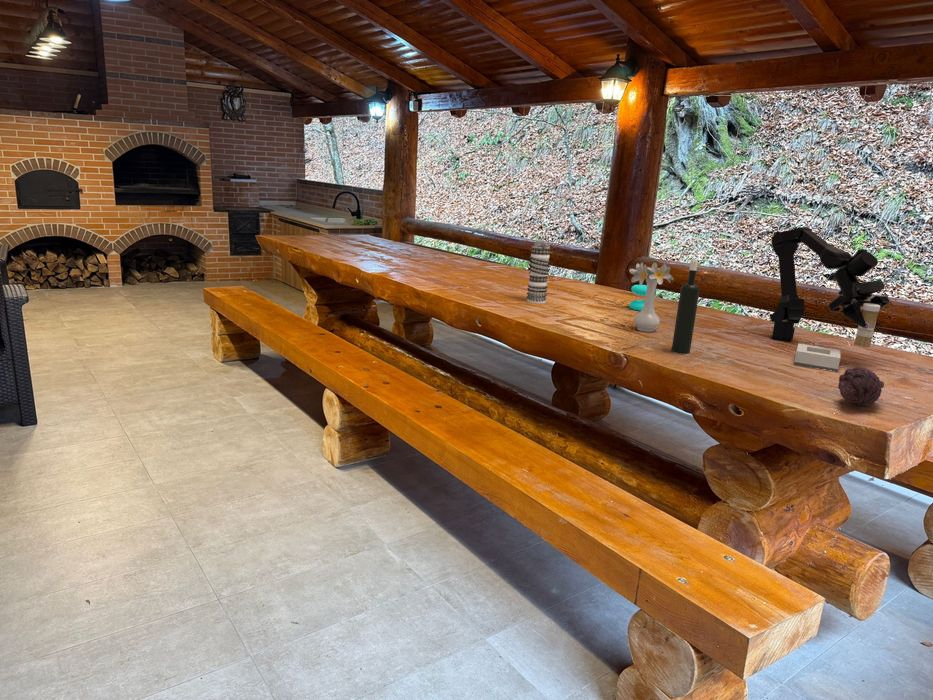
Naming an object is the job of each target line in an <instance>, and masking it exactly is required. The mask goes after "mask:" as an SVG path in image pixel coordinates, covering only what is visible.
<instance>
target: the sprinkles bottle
mask: <svg viewBox="0 0 933 700" xmlns="http://www.w3.org/2000/svg"><path fill="white" fill-rule="evenodd" d="M861 309H862V311H861V312H862V316H863V318H864V320H865V323H866V326H865V327H861V326H860V325H859V324H857V325H858V326H857V331H856V335H855V340H854V342H853V344H854V346H857V347H860V348H870V347H871V344H872V340H873V336H874V331H875V328H876V327H875V324H876V319H877V317H878V314H879V312H880V310H881V309H880V305H877V304H872V303H864V304H863V307H861Z"/></svg>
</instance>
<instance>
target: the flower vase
mask: <svg viewBox="0 0 933 700" xmlns="http://www.w3.org/2000/svg"><path fill="white" fill-rule="evenodd" d="M628 272H629V273H630V274H631V275H633V276H632V277H631V281H630V282H631V283H636V282H639V285H643V283H644V281H646V285H647V292H646V296H645V299H644V301H645V303H644V306H643V308H642V310H641V311H638V313H637V314H636V315H635V316H634V318H633V323H634V325H635V326H636V327H637V328H636V329H637V330H638V331H641V332H645V333H652V332H654V331H655V329H657V328H658V327H659V326H660V323H661V320H660V318H659V316H658V314H657V313H656V311H655V293H656V292H655V290H657V285H663V282H664V279H665V280H667V281H668V283H670V284H671V281H675V278H674V277H673V276H672V275H671V274H670V273H671V266H667V265H666V263H665V262H664V263H663V265H661V266H660V268H659V267H658V264H657V262H653V263H652V265H651V267H649V266H647V264H644V262H640V263H636V265H635V268H629V270H628Z"/></svg>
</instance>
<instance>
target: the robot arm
mask: <svg viewBox="0 0 933 700" xmlns="http://www.w3.org/2000/svg"><path fill="white" fill-rule="evenodd" d="M801 243H802V244H804V245H805V246H806V247H808V249H810V250H811V251H812V252H814V253H815V254H816V255H817V256H818V257H819V262H821V264H822V265H823V266H824V268H825V269H828V270H836V271H835V272H831V273H830V275H829V277H828V281H830V282H832V281H833V282H836V284H837V286H838V287H839V290H840V291H838V292H837V293H838V296H837V297H835V298H834V299H833V300H832V301H830V302H829V305H828V309H829V311H830V312H831V313H838V312H839V311H840V307H842V310H841V311H840V314H841V315H844V316H845V317H847V318H848V319H851V321H853V322H854V323H856V324H857V325H860V326H861V327H865V326H866V323H865V320H864V318H863V316H862V311H861V308H862V307H863V304H864V303H872V304H877V305H880V310H881V309H882V308H884V307H885V306H887V305H888V304H889V303H891V301H890V299H889V297H888V296H886V295H874V296H873V294H875V293H876V294H877V293H882V291H883V290H885V286H886V285H885V283H884V281H883V280H882V279H876V280H870V281H866V282H860V280H859V278H858V277H863V276H864V275H866V274H867V273H868V272H870V271H872V269H874V268H875V267H877V266H878V264H879V261H878V258H877V257H876V256H875V255H874V254H872V253H871V252H868V250H867V249H866V248H863V249H861V248H860V250H858V251H857V252H856V254H854V255H853V256H852V255H851V254H850V253H849V252H848V251H846V250H844V249H841V248H838V247H835V246H832V245H831V244H829V243H828V242H827V241H825V240H824V239H823V238H822V237H820V236H819V235H818V234H817V233H815V232H814V231H813V230H812V228H810V227H804V226H803V227H802V226H798V227H796V228H793V229H788V230H785V231H776V232H775V233H774V234H773V235H772V237H771V247H772V250H773V252H774V253H775V255H776V256H777V258H778V267H779V277H780V278H779V279H780V280H779V281H780V291H781V296H780V298H779V301H778V302H777V308H776V310H775V311H774V312H772V313H771V314H769V315H770V316H769V319H770V322H772V323H773V324H774V325H773V329H772V334H771V337H770V339H771V340H775V341H776V340H777V341H784V342H791V341H792V340H794V335H795V330H796V327H795V326H794V325H795V324H796V325H799V324H800V322H801V320H802V317H803V316H804V315H805V311H806V308H805V299H804V298H800V297H799V295H798V292H797V291H798V290H797V279H796V277H797V276H796V267H795V254H796V252H797V250H798V247H799V244H801ZM872 296H873V297H872ZM871 297H872V298H871ZM868 298H870V299H868ZM878 320H879V319H878V316H877V319H876V324H875V328H877V327H878V326H879V323H878V322H879V321H878Z"/></svg>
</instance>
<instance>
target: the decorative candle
mask: <svg viewBox="0 0 933 700" xmlns="http://www.w3.org/2000/svg"><path fill="white" fill-rule="evenodd" d="M550 250H551V246H550V245H549V244H548V243H546V242H535V243H534V244H533V245H532V246H531V254H530V255H529V256H528V258H529V259H528V262H529V264H528V270H529V272H528V275H529V279H528V284H527V287H528V288H527V293H526V302H527V303H531V304H545V303H547V296H548V295H547V292H548V290H547V289H548V287H549V286H548V282H547V281H548V277H549V276H550V273H549V272H550V269H549V268H550V267H551V261H550V260H549V259H550Z"/></svg>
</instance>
